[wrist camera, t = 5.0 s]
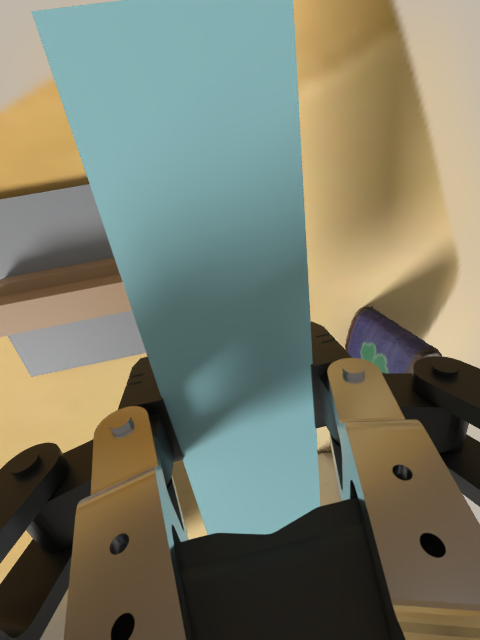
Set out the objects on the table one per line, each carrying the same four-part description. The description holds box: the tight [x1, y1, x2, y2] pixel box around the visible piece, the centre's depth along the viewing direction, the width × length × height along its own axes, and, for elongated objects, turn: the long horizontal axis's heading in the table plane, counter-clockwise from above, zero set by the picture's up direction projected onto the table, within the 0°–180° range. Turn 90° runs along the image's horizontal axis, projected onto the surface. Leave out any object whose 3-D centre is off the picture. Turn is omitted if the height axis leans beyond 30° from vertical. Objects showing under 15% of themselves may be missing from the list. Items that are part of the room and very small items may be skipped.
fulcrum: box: [0, 184, 146, 377], centre depth 21 cm, size 14×14×6 cm
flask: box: [345, 307, 442, 373], centre depth 26 cm, size 9×3×11 cm, turn 179°
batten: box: [32, 0, 320, 535], centre depth 10 cm, size 4×18×4 cm, turn 9°
